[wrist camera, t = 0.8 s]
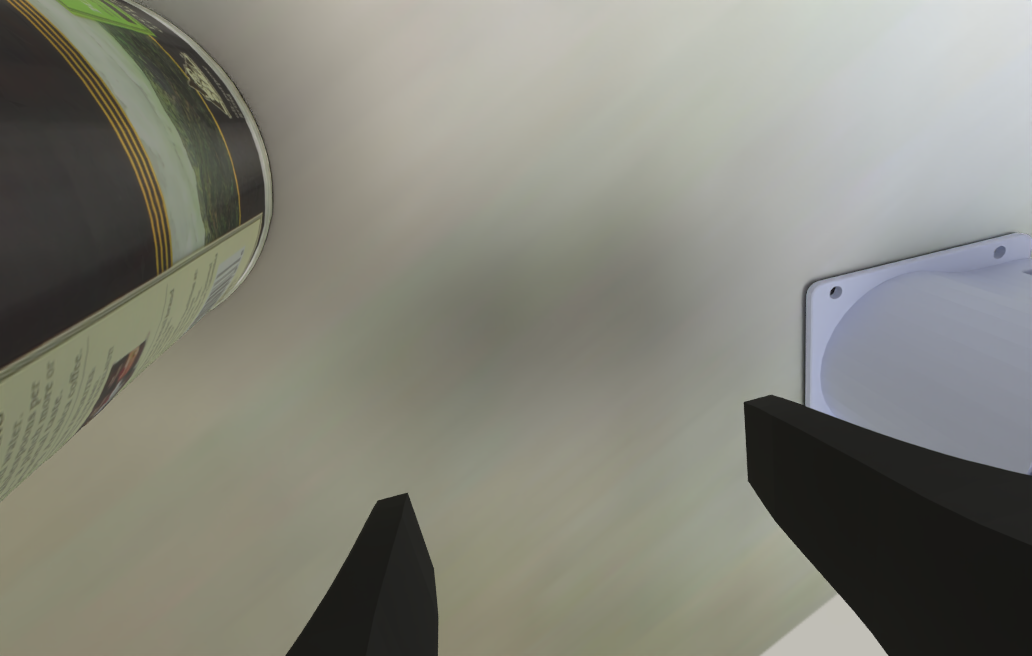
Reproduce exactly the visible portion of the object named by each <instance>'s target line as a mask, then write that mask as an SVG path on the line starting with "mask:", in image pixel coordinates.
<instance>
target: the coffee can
mask: <svg viewBox="0 0 1032 656" xmlns="http://www.w3.org/2000/svg"><path fill="white" fill-rule="evenodd" d="M271 217H272V179H271V172H270V168H269V161H268V157H267V153H266V149H265V146H264V143H263V140H262V138H261V135H260V132H259V130H258V127H257V125H256V123H255V120H254V118H253V116H252V114H251V112H250V110H249V108H248V107H247V105H246V103H245V101H244V100H243V98H242V97H241V95H240V93H239V92H238V90H237V88H236V87H235V85H234V84H233V82H232V81H231V80H230V79H229V77H228V76H227V75H226V73H225V72H224V71H223V70H222V68H221V67H220V66H219V65H218V64H217V63H216V62H215V61H214V60H213V59H212V58H211V57H210V56H209V55H208V54H207V53H206V52H205V51H204V50H203V49H202V48H201V47H200V46H199V45H198V44H197V43H196V42H195V41H193V40H192V39H191V38H190V37H189V36H188V35H186V34H185V33H184V32H182V31H181V30H180V29H178V28H177V27H176V26H174V25H173V24H171V23H170V22H169V21H167V20H166V19H164V18H163V17H161V16H159V15H158V14H156V13H155V12H153V11H151V10H149V9H147V8H145V7H143V6H142V5H140V4H138V3H136V2H134V1H132V0H0V502H1V501H2V500H3V499H4V498H5V497H7V496H8V495H9V494H10V493H11V492H12V491H13V490H14V489H15V488H16V487H18V486H19V485H20V484H21V483H22V482H23V481H24V480H25V479H26V478H27V477H29V476H30V475H31V474H32V473H33V472H34V471H35V470H36V469H37V468H38V467H39V466H41V465H42V464H43V463H44V462H45V461H47V460H48V459H50V458H51V457H52V456H53V455H54V454H55V453H56V452H57V451H58V450H59V449H60V448H61V447H62V446H63V445H64V444H65V443H67V442H68V441H69V440H70V439H71V438H72V437H73V436H74V435H75V434H76V433H77V432H78V431H79V430H80V429H81V428H82V427H83V426H85V425H86V424H87V423H88V422H89V421H90V420H92V419H93V418H94V417H95V416H96V415H97V414H98V413H99V412H100V411H101V410H102V409H103V408H104V407H105V406H106V405H107V404H108V403H109V402H110V401H111V400H112V399H113V398H114V397H115V396H116V395H118V394H119V393H120V392H121V391H122V390H123V389H124V388H125V387H126V386H127V385H129V384H130V383H131V382H132V381H133V380H134V379H135V378H136V377H137V376H138V375H139V374H140V373H141V372H143V371H144V370H145V369H146V368H147V367H148V366H149V365H150V364H151V363H152V362H153V361H155V360H156V359H157V358H158V357H159V356H160V355H161V354H162V353H164V352H165V351H166V350H167V349H168V348H169V347H170V346H171V345H172V344H174V343H175V342H176V341H177V340H178V339H179V338H180V337H181V336H182V335H184V334H185V333H186V332H187V331H188V330H189V329H190V328H191V327H192V326H193V325H194V324H195V323H197V322H198V321H199V320H200V319H201V318H202V317H203V316H204V315H205V314H206V313H207V312H209V311H211V310H213V309H214V308H215V307H216V306H217V305H219V304H220V303H222V302H223V301H224V300H226V299H227V298H228V297H229V296H230V295H231V294H232V293H233V292H234V291H235V290H236V289H237V288H238V287H239V286H240V284H241V283H242V282H243V281H244V280H245V279H246V277H247V276H248V274H249V273H250V271H251V270H252V268H253V267H254V265H255V263H256V261H257V259H258V257H259V255H260V253H261V251H262V248H263V246H264V243H265V240H266V237H267V233H268V229H269V224H270V220H271Z"/></svg>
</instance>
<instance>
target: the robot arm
mask: <svg viewBox="0 0 1032 656" xmlns="http://www.w3.org/2000/svg"><path fill="white" fill-rule="evenodd" d="M995 250H996V251H995ZM994 251H995V253H994ZM1031 251H1032V238H1031V236H1030V235H1028V234H1024V233H1013V234H1009V235H1005V236H1001V237H997V238H992V239H988V240H984V241H980V242H976V243H972V244H968V245H964V246H960V247H956V248H951V249H947V250H943V251H939V252H935V253H931V254H927V255H923V256H919V257H915V258H910V259H906V260H902V261H898V262H894V263H890V264H886V265H882V266H878V267H874V268H869V269H865V270H861V271H857V272H853V273H849V274H845V275H841V276H837V277H833V278H828V279H824V280H820V281H817V282H815V283H813V284H812V285H811V286H810V287H809V289H808V291H807V295H806V386H805V406H804V405H801V404H798V403H795V402H792V401H789V400H786V399H783V398H780V397H777V396H774V395H768V396H765V397H761V398H757V399H754V400H750V401H746V402H744V414H745V433H746V451H747V470H748V481H749V483H750V484H751V486H752V487H753V489H754V490H755V492H756V494H757V495H758V497H759V498H760V500H761V501H762V503H763V504H764V506H765V507H766V509H767V510H768V511H769V513H770V514H771V516H772V517H773V519H774V520H775V521H776V523H777V524H778V525H779V526H780V527H781V529H782V530H783V531H784V532H785V533H786V534H787V536H788V537H789V538H790V539H791V540H792V541H793V542H794V544H795V545H796V546H797V547H798V548H799V549H800V551H801V552H802V553H803V554H804V555H805V556H806V557H807V558H808V560H809V561H810V562H811V563H812V564H813V565H814V566H815V568H816V569H817V570H818V571H819V572H820V573H821V574H822V575H823V577H824V578H825V579H826V580H827V581H828V582H829V583H830V585H831V586H832V587H833V588H834V589H835V590H836V591H837V593H838V594H839V595H840V596H841V597H842V598H843V599H844V600H845V602H846V603H847V604H848V605H849V606H850V607H851V608H852V610H853V611H854V612H855V613H856V614H857V616H858V617H859V618H860V619H861V620H862V622H863V623H864V624H865V625H866V626H867V628H868V629H869V630H870V631H871V633H872V634H873V635H874V637H875V638H876V639H877V641H878V642H879V643H880V645H881V646H882V648H883V649H884V650H885V652H886V653H887V654H888V656H1032V258H1030V257H1031ZM834 287H835V291H834V293H833V294H832V295H830V291H831V290H832V288H834ZM285 656H438V608H437V596H436V586H435V576H434V568H433V565H432V562H431V559H430V556H429V553H428V550H427V547H426V544H425V542H424V539H423V536H422V533H421V530H420V527H419V524H418V521H417V518H416V516H415V513H414V510H413V507H412V504H411V501H410V498H409V495H408V493H404V494H401V495H397V496H393V497H390V498H386V499H382V500H378V501H377V503H376V504H375V506H374V508H373V510H372V511H371V513H370V515H369V517H368V519H367V521H366V523H365V525H364V527H363V529H362V531H361V533H360V534H359V536H358V538H357V540H356V542H355V544H354V546H353V548H352V549H351V551H350V553H349V555H348V557H347V559H346V560H345V562H344V564H343V566H342V567H341V569H340V571H339V573H338V574H337V576H336V578H335V580H334V581H333V583H332V585H331V587H330V588H329V590H328V592H327V593H326V595H325V596H324V598H323V600H322V601H321V603H320V604H319V606H318V607H317V609H316V611H315V612H314V614H313V615H312V617H311V619H310V620H309V622H308V623H307V625H306V626H305V628H304V629H303V631H302V632H301V634H300V635H299V637H298V638H297V640H296V641H295V643H294V644H293V646H292V647H291V648H290V650H289V651H288V653H287V654H286V655H285Z"/></svg>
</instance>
